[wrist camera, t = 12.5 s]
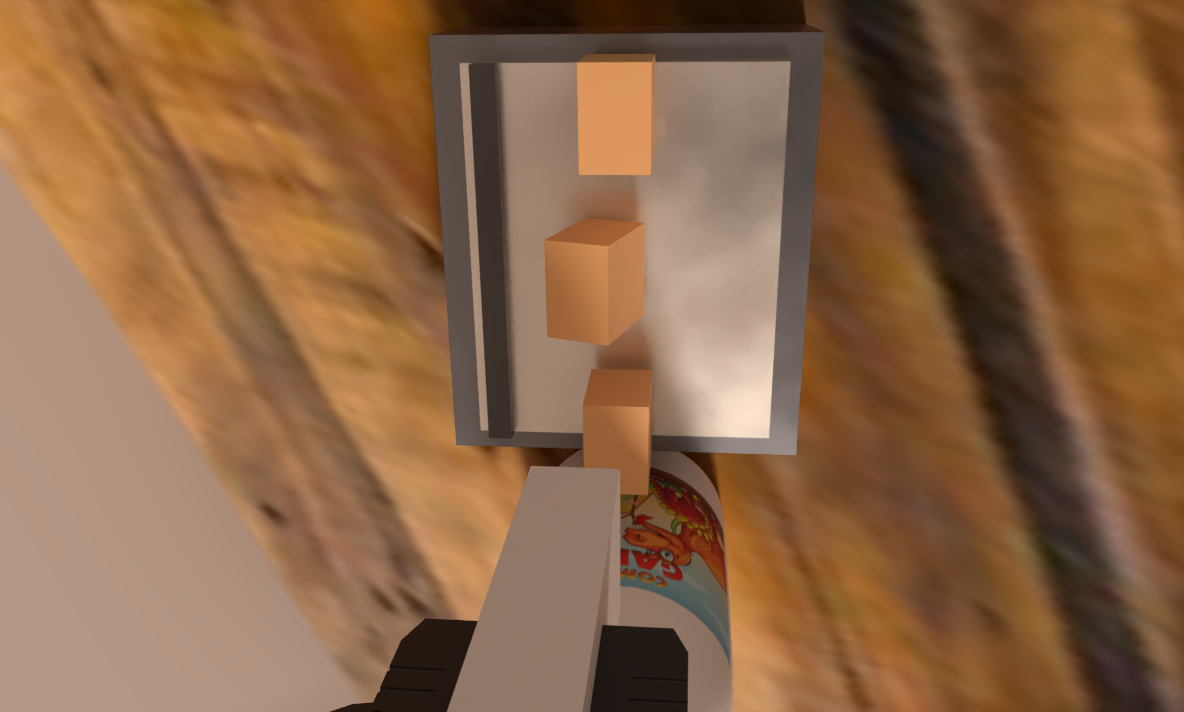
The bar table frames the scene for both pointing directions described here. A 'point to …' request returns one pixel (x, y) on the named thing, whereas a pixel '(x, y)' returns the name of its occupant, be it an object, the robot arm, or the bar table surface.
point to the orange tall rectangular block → (616, 114)
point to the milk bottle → (679, 571)
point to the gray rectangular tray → (661, 200)
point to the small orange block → (594, 280)
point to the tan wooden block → (619, 425)
